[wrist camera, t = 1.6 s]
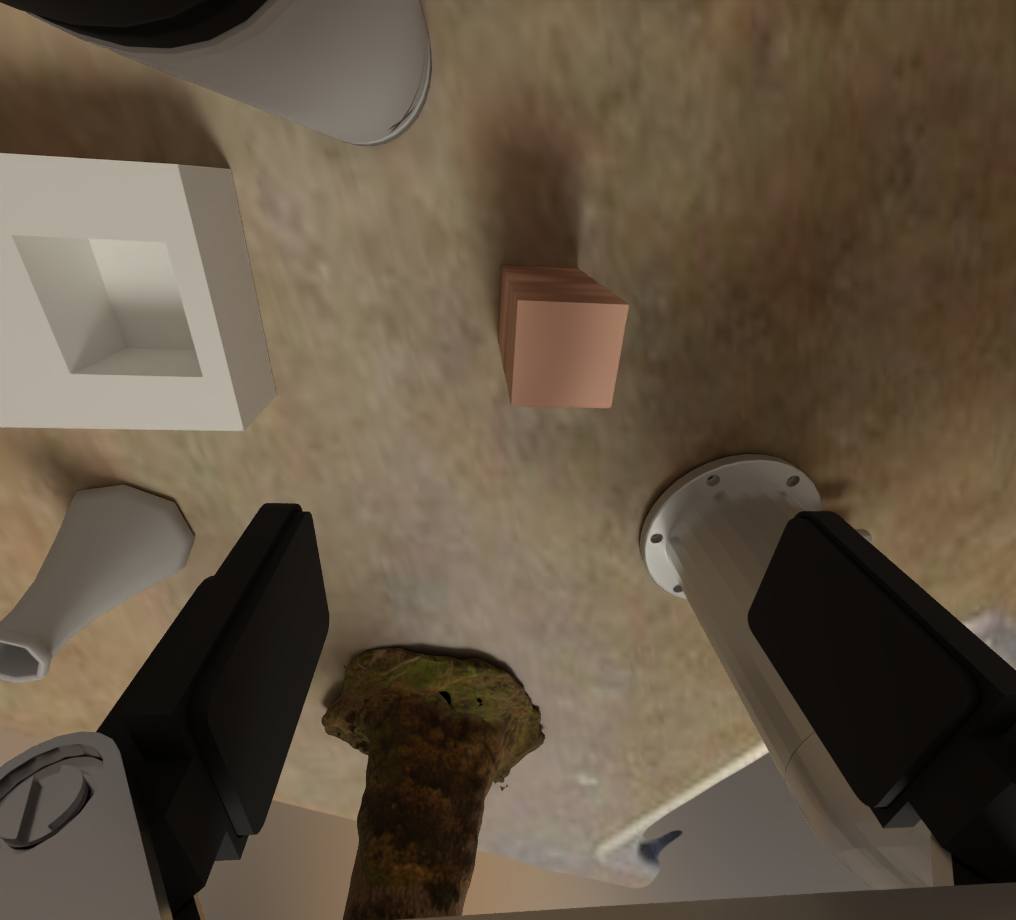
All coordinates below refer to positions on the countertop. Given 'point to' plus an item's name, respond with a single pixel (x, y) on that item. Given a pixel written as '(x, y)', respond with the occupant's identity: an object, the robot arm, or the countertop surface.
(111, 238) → the socket block
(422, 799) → the tree stump
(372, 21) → the travel mug
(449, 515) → the countertop surface
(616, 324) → the peg
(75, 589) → the flask
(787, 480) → the robot arm
